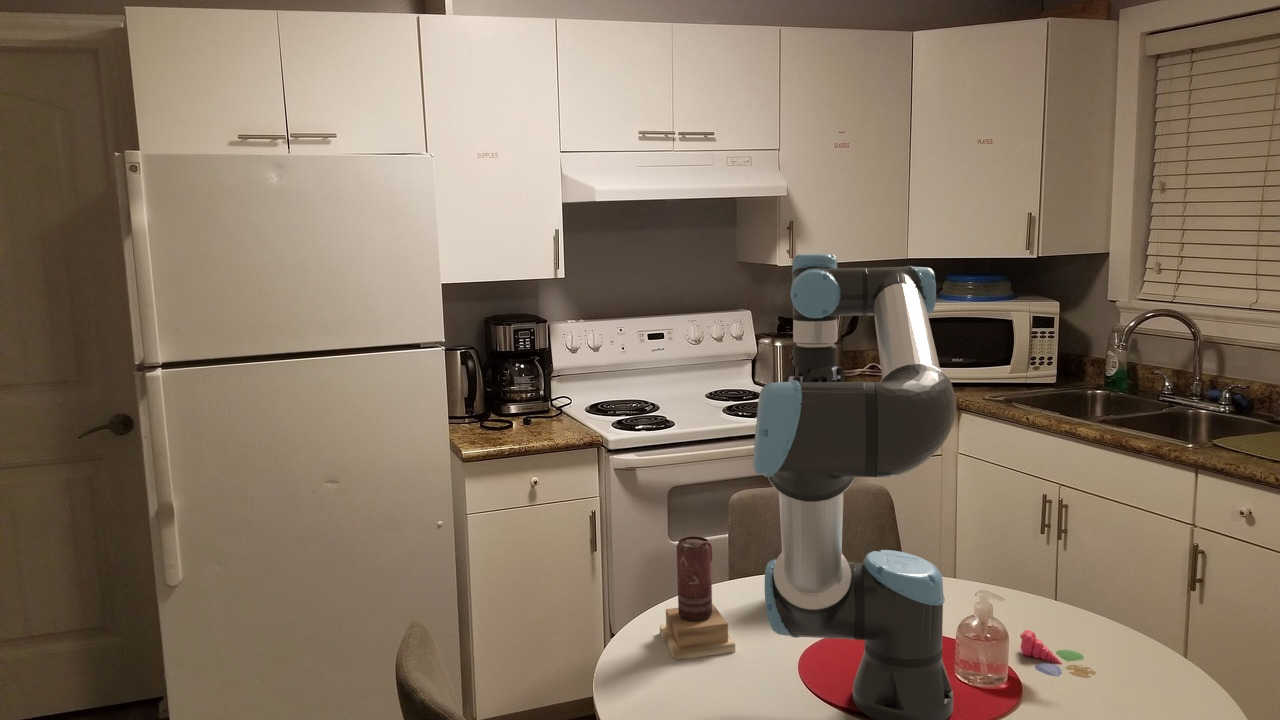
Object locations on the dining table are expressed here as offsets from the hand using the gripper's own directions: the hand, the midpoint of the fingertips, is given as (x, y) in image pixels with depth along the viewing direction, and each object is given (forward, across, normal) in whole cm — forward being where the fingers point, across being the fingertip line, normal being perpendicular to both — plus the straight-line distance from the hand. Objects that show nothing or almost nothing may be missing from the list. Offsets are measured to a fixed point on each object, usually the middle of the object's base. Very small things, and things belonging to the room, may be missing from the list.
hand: (815, 463), depth 161 cm
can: (+28, +15, -15) cm, 35 cm away
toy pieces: (+33, -21, +34) cm, 52 cm away
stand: (+33, +16, -15) cm, 39 cm away
